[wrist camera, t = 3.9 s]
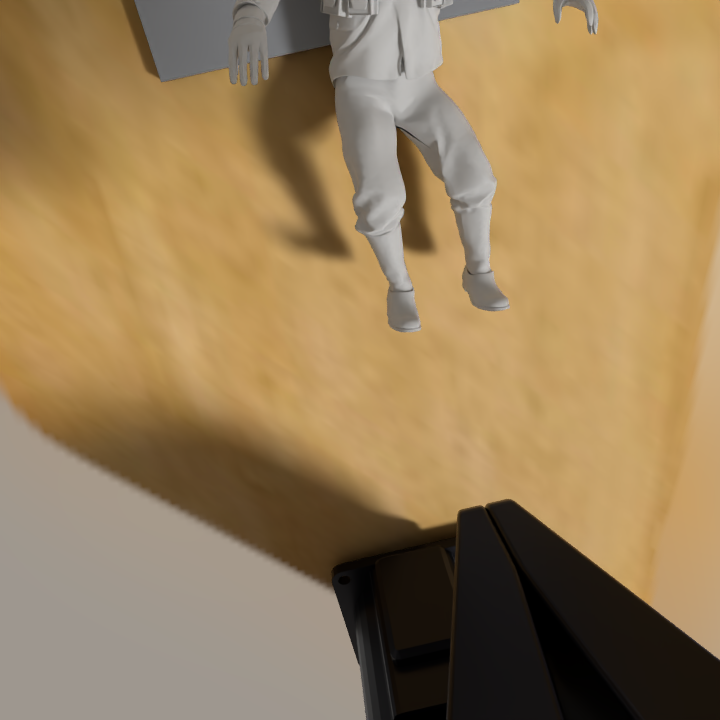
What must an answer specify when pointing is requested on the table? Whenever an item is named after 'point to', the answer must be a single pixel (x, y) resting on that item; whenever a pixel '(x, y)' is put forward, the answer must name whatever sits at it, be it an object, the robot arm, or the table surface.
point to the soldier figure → (402, 110)
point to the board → (215, 22)
